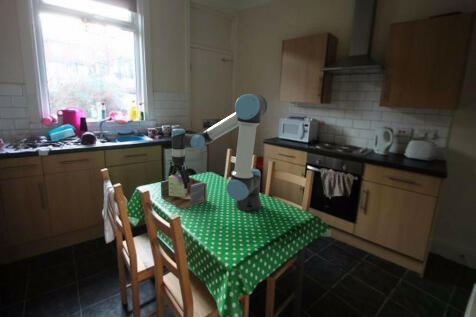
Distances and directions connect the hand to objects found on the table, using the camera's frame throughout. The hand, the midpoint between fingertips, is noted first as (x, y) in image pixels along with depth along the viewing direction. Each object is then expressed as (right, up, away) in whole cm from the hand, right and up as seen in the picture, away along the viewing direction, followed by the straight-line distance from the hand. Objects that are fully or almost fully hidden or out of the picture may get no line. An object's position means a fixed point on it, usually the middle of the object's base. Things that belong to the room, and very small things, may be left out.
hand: (178, 190), depth 153 cm
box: (0, -3, +1) cm, 3 cm away
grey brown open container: (+2, -6, +4) cm, 7 cm away
